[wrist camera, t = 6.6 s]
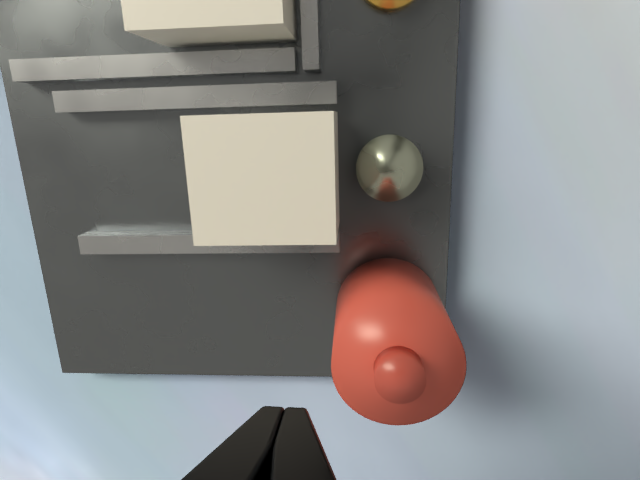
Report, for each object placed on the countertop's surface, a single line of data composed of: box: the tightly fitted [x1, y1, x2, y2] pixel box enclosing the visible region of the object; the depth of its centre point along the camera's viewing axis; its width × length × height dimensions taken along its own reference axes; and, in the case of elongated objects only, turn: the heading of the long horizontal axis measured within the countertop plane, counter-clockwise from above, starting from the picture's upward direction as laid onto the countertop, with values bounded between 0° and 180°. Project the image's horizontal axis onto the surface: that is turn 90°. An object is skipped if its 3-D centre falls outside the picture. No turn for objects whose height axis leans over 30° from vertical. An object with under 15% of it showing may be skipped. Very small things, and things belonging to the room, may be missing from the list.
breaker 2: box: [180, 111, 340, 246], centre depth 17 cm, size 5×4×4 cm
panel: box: [0, 0, 460, 376], centre depth 18 cm, size 18×22×2 cm
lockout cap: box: [331, 258, 466, 425], centre depth 17 cm, size 4×4×6 cm
